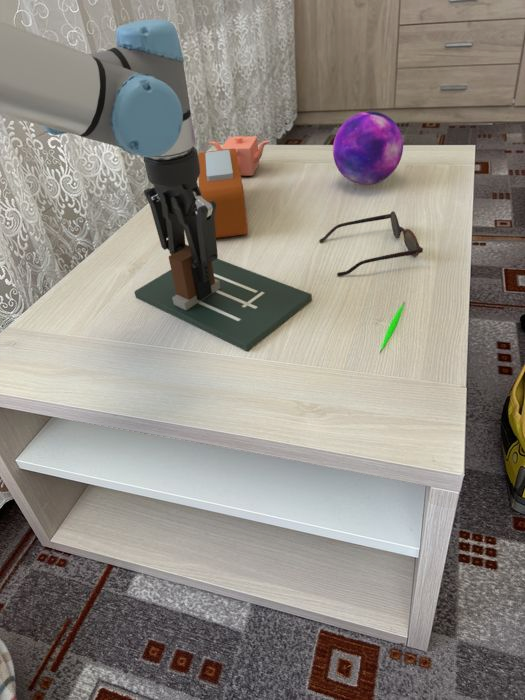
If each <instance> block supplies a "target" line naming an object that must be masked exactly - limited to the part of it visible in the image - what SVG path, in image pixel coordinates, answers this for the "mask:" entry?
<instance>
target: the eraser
mask: <svg viewBox="0 0 525 700" xmlns="http://www.w3.org/2000/svg"><path fill="white" fill-rule="evenodd" d="M187 245H188V246H186V247H185V248H183V249H181V250H179V251H178V252H176V253H174V254H172V255H171V254H170V255H168V261H169V266H170V270H171V271H172V275H173V280H174V284H175V289H176V293H177V295H175V296H174V297H172V298H173V303H174V305H175V306H177V307H180V308H182V309H184V310H188V309H189V308H191V307H192V306H194V305H195V304H197V303H198V302H200V300H197V296H196V291H195V285H194V280H193V275H192V270H191V265H190V264H191V263H193V262H194V261H193V258H192V255H191V251H190V248H189V244H187ZM209 268H210V274H211V279H210V284H211V290H212V293H214V292H215V291H217V290H218V289H220V282H219V280H216V279H214V273H213V267H212V262H211V263H209ZM212 293H211V294H212ZM211 294H210V295H211ZM208 296H209V295H208ZM208 296H207V297H208ZM205 298H206V297H205ZM205 298H204V299H205ZM202 300H203V299H202Z"/></svg>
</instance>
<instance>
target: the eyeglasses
mask: <svg viewBox="0 0 525 700" xmlns="http://www.w3.org/2000/svg"><path fill="white" fill-rule="evenodd" d="M388 219H390V225H391V229H392V233H393V235H394V237H395V239H397V240H399V239H400V237H401V234H402V235H403V243H404V245H405V247H406V251H401V252H395V253H390V254H387V255H381V256H377V257H372V258H368V259H364V260H361V261H359V262H357V263H356V264H354V265H353V266H351V267H350V268H349V269H347V270H346V271H345V270H344V271H339V272H337V273H336V276H337V277H341V276H347V275H349V274H351V273H353V272H354V271H355V270H356V269H358V268H359V267H360V266H362V265H365V264H368V263H373V262H378V261H383V260H390V259H395V258H401V257H402V258H403V257H408V256H412V257H414V258H417V257H418V256H419V254H422V253H423V252H424V249H423V247H421V246H420V244H419V240H418V239H417V236H416V235H415V233H414V231H412V230H411V229H409V228H407V229H405V228H404V227H402V226H400V223H399V220H398V216H397V214H396V212H395V211H391V212H390V213H387V214H382V215H377V216H371V217H365V218H361V219H356V220H352V221H346V222H343V223H339V224H337V225H335V226H334V227H332V228H331V229H330V230H329V231H328V232H327V233H326V234H325V235H324V237H323V236H322V238H320V239H319V240H318V242H319V243H320V244H321V243H323V242H324V241H326V240H327V239H328V238H329V237H330V236H331V235H332V234H333V233H334V232H335V231H336V230H337V229H340V228H342V227H346V226H347V227H348V226H352V225H357V224H364V223H369V222H376V221H382V220H383V221H384V220H388Z"/></svg>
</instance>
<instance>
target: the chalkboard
mask: <svg viewBox="0 0 525 700" xmlns="http://www.w3.org/2000/svg"><path fill="white" fill-rule="evenodd" d="M212 267H213V273H214V279H216V280H219V282H220V289H218V290H217V291H215V292H214V293H212V294H211V295H209V296H208V297H206V298H205V299H203V300H201V301H200V302H198V303H197V304H195V305H194V306H192V307H191V308H189V309H188V310H184V309H182V308H180V307H177V306H175V305H174V303H173V298H172V297H174V296H175V295H177V293H176V289H175V284H174V280H173V275H172V271H171V269H170V270H168V271H166V272H164V273H162V274H161V275H159V276H157V277H156V278H154V279H153V280H151V281H149V282H147V283H146V284H144V285H142V286H141V287H139V288H138V289H136V290H134V292H133V293H134V296H135V298H136V299H138V300H140V301H143V302H145V303H147V304H148V305H151V306H153V307H155V308H156V309H159V310H161V311H163V312H165V313H168V314H170V315H171V316H173V317H176V318H177V319H179V320H182V321H184V322H186V323H187V324H190V325H192V326H194V327H196V328H198V329H200V330H202V331H204V332H206V333H209V334H211V335H212V336H215V337H216V338H219V339H221V340H223V341H225V342H227V343H229V344H232V345H233V346H235V347H238V348H240V349H242V350H244V351H246V352H248V351H249V350H251V349H252V348H254V347H255V346H256V345H257V344H259V343H260V342H262V340H264V339H265V338H266V337H267V336H269V335H270V334H271V333H272V332H274V331H275V330H276V329H277V328H279V327H280V326H281V325H283V324H284V323H285V322H286V321H288V320H289V319H290V318H292V317H293V316H294V315H295V314H296V313H298V312H299V311H301V310H302V309H303V308H304V307H305V306H307V305H308V304H309V303H310V302H312V301H313V294H312V293H310V292H307V291H304V290H302V289H298V288H296V287H293V286H292V285H288V284H286V283H283V282H280V281H278V280H275V279H272V278H269V277H268V276H265V275H262V274H259V273H257V272H254V271H251V270H249V269H246V268H243V267H241V266H238V265H235V264H233V263H230V262H228V261H224V260H222V259H219V258H217V259H215V260H214V261H212Z"/></svg>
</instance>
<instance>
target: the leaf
mask: <svg viewBox="0 0 525 700" xmlns="http://www.w3.org/2000/svg"><path fill="white" fill-rule="evenodd" d="M404 304H405V302H403V303H402V304H401V306H400V307H399V309H398V310H397V312H396V314H395V315H394V317H393V318H392V321H391V322H390V324H389V326H388V329H387V331H386V334H385V337H384V339H383V343H382V345H381V348H380V351H379V353H381V352H382V351H383V349H384V348H385V346H386V344H387V342H388V341H389V339H390V337H391V336H392V334H393V333H394V330H395V329H396V326H397V325H398V322H399V320H400V317H401V314H402V311H403V307H404Z"/></svg>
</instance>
